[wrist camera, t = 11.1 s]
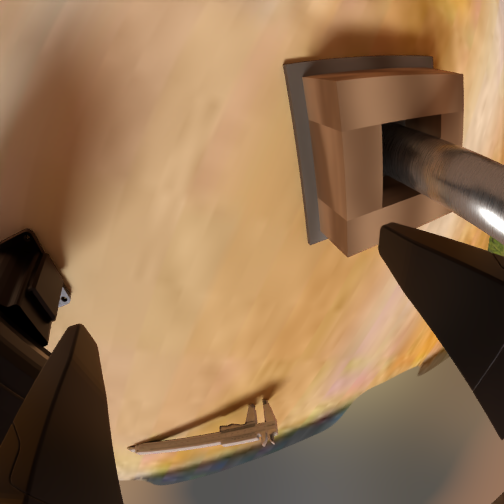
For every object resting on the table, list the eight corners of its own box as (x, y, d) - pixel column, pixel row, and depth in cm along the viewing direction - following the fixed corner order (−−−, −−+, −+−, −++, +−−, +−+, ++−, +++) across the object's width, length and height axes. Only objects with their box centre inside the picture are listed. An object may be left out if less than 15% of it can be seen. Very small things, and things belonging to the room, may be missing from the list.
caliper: (265, 396, 37) (284, 437, 32) (267, 399, 38) (285, 439, 33) (126, 445, 35) (133, 485, 30) (131, 448, 36) (138, 487, 31)
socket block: (308, 242, 26) (335, 273, 22) (282, 64, 18) (317, 65, 14) (428, 197, 28) (459, 217, 25) (429, 56, 20) (469, 62, 16)
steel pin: (360, 172, 23) (497, 258, 13) (356, 123, 21) (513, 189, 11) (396, 161, 24) (527, 234, 14) (395, 115, 22) (540, 173, 11)
